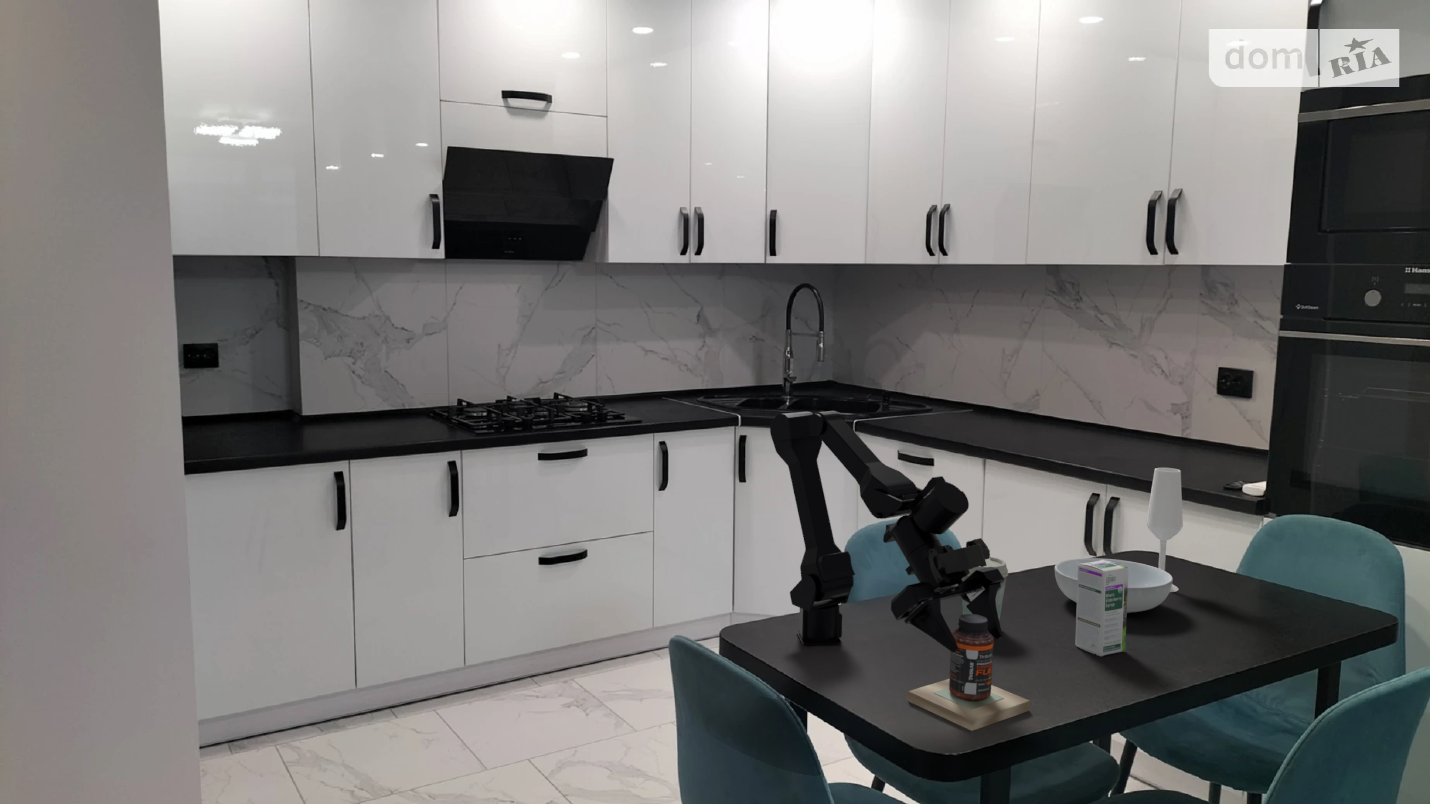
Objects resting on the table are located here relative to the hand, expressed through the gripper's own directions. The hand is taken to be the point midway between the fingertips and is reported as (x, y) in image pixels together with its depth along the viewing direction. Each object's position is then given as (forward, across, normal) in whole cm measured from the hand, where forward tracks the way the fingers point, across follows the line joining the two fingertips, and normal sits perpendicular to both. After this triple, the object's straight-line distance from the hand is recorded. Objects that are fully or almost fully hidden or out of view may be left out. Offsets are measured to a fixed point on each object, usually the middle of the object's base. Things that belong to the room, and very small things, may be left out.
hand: (978, 644), depth 146 cm
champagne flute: (-7, +78, +21) cm, 81 cm away
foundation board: (+6, 0, +8) cm, 10 cm away
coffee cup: (-10, +28, +24) cm, 38 cm away
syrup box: (+3, +36, +11) cm, 38 cm away
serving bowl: (-6, +58, +20) cm, 62 cm away
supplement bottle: (+5, 0, +7) cm, 8 cm away
